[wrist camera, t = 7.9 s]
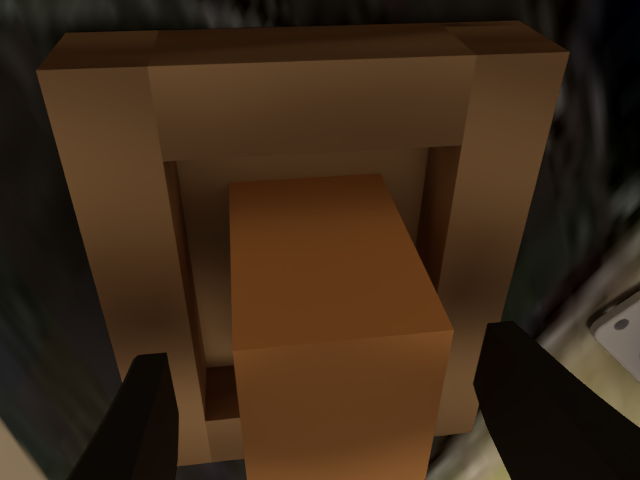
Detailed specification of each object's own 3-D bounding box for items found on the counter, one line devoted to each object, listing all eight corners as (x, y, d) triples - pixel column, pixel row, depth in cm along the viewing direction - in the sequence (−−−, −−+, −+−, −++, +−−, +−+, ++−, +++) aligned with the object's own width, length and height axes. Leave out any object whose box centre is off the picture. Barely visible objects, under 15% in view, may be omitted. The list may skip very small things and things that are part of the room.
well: (65, 33, 13) (35, 70, 11) (518, 20, 14) (569, 52, 12) (153, 404, 20) (146, 469, 18) (447, 374, 21) (471, 432, 19)
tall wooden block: (228, 182, 15) (232, 351, 10) (380, 173, 15) (453, 329, 10) (244, 347, 18) (252, 533, 13) (368, 335, 19) (418, 510, 14)
